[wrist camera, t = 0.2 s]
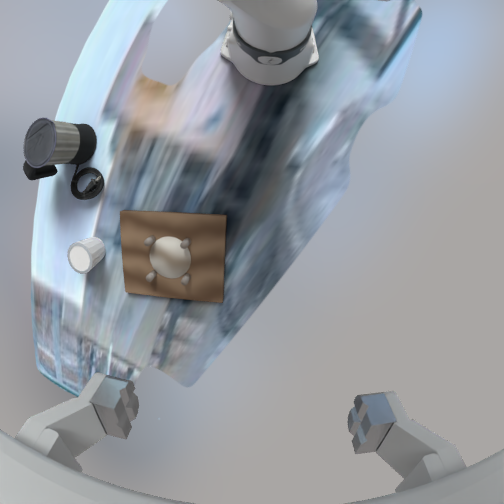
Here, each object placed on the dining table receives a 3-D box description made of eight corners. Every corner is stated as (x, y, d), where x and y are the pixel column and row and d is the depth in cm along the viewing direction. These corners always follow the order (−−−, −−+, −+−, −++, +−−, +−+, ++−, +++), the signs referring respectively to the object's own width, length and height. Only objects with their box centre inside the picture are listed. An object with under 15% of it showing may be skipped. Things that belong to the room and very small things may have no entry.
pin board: (123, 210, 55) (113, 214, 51) (226, 215, 55) (223, 219, 51) (128, 289, 61) (120, 298, 56) (223, 299, 61) (220, 309, 56)
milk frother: (77, 116, 49) (35, 110, 35) (126, 147, 52) (87, 145, 37) (52, 171, 53) (9, 178, 39) (96, 205, 55) (56, 219, 41)
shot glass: (108, 265, 59) (93, 276, 52) (84, 261, 59) (68, 271, 52) (107, 235, 57) (91, 244, 50) (83, 232, 57) (65, 240, 50)
